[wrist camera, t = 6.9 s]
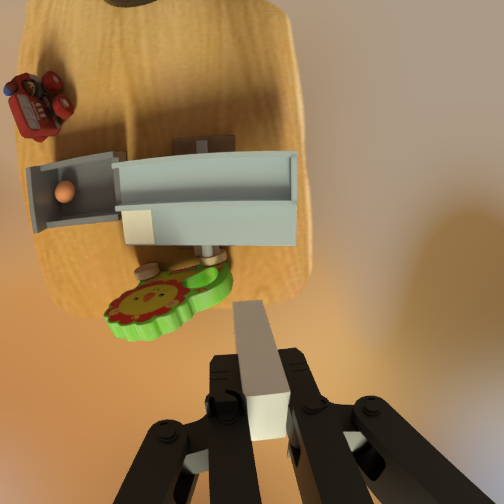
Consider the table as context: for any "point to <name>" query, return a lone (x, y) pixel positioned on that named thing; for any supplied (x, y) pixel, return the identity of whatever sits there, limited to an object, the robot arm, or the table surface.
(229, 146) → the stand
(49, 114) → the toy fire truck
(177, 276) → the toy lion
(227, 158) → the lever
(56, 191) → the ball
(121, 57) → the table surface
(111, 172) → the pulled-out tray drawer
